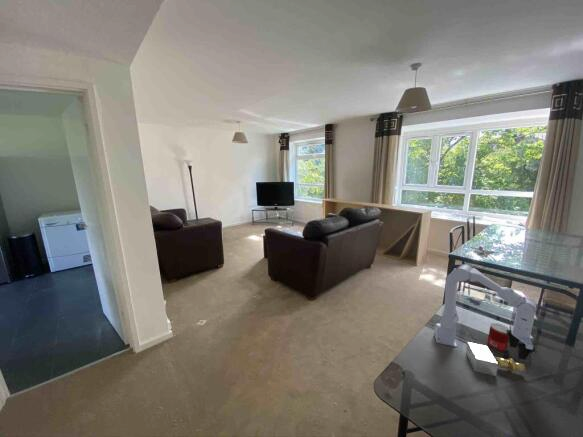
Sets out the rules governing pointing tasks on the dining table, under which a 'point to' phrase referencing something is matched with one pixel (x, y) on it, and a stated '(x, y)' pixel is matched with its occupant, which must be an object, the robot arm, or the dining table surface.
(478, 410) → the dining table surface
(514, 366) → the brass flanged cylinder
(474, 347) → the housing
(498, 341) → the canned food
